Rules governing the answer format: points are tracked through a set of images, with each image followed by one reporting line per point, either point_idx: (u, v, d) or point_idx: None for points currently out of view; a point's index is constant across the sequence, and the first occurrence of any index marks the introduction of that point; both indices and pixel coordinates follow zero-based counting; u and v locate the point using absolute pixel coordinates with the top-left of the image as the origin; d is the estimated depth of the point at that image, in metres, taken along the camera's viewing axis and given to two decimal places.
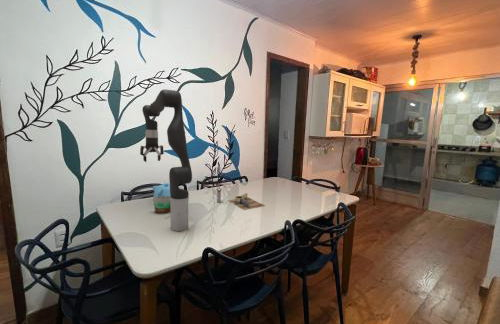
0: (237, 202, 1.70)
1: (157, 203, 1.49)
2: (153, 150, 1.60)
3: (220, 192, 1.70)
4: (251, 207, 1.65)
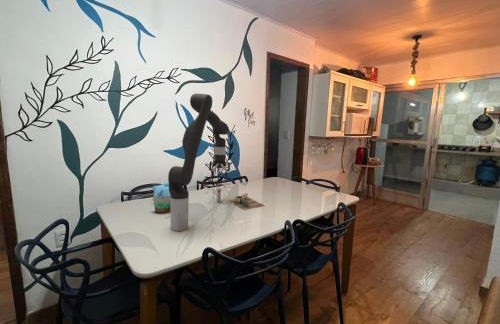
0: (237, 202, 1.70)
1: (157, 203, 1.49)
2: None
3: (220, 192, 1.70)
4: (251, 207, 1.65)
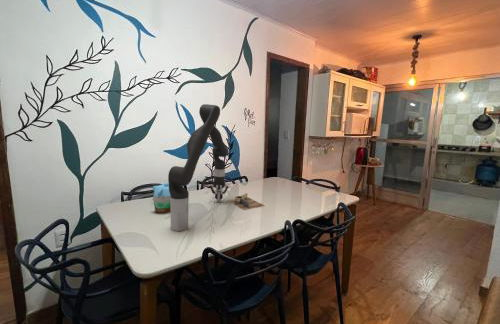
0: (237, 202, 1.70)
1: (157, 203, 1.49)
2: None
3: (220, 192, 1.70)
4: (251, 207, 1.65)
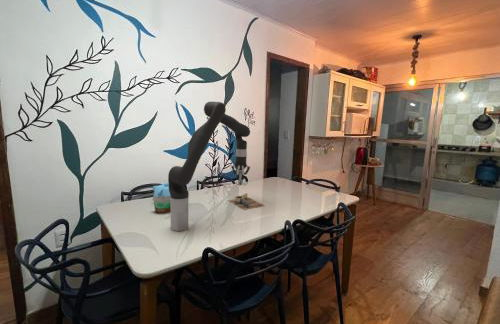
0: (237, 202, 1.70)
1: (157, 203, 1.49)
2: None
3: None
4: (251, 207, 1.65)
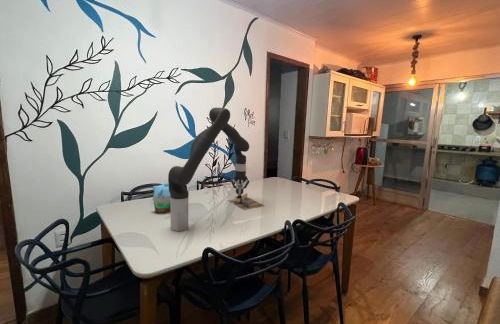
0: (237, 202, 1.70)
1: (157, 203, 1.49)
2: None
3: (241, 187, 1.71)
4: (251, 207, 1.65)
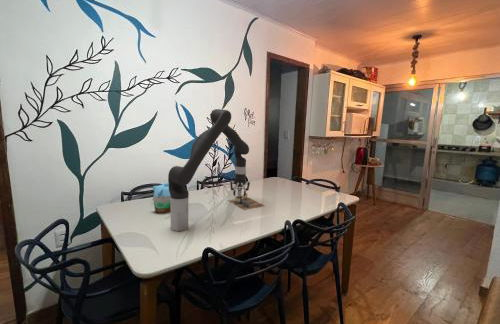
0: (237, 202, 1.70)
1: (157, 203, 1.49)
2: None
3: (241, 191, 1.71)
4: (251, 207, 1.65)
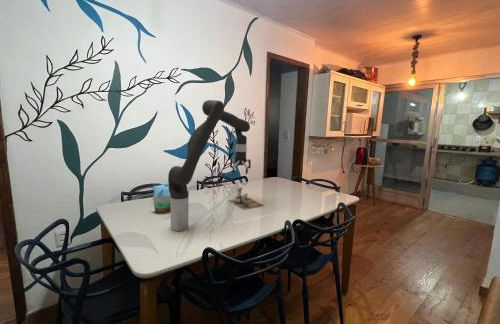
0: (237, 202, 1.70)
1: (157, 203, 1.49)
2: None
3: (240, 191, 1.71)
4: (251, 207, 1.65)
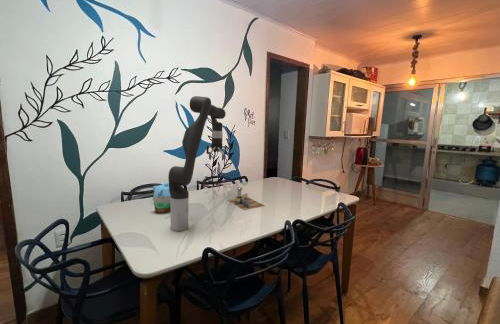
0: (237, 202, 1.70)
1: (157, 203, 1.49)
2: None
3: (240, 191, 1.71)
4: (251, 207, 1.65)
